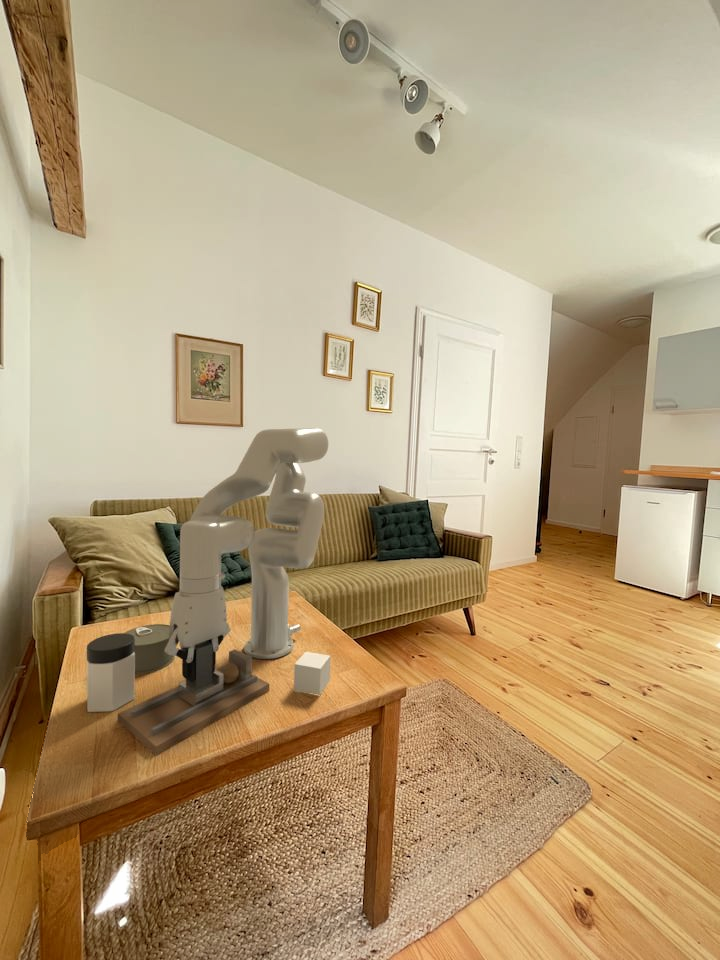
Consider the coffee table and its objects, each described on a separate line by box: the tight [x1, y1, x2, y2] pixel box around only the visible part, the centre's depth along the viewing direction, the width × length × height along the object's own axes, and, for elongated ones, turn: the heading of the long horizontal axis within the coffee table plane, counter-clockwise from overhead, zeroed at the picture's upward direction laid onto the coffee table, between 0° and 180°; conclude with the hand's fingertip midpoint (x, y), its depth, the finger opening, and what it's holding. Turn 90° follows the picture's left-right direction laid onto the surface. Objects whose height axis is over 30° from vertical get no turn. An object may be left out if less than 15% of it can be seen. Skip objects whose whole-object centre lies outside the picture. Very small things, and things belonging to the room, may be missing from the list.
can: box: [124, 623, 175, 676], centre depth 94 cm, size 12×12×7 cm
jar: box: [86, 632, 136, 713], centre depth 79 cm, size 9×8×12 cm
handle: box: [178, 641, 224, 706], centre depth 78 cm, size 6×6×10 cm
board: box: [117, 649, 270, 756], centre depth 78 cm, size 24×14×6 cm, turn 144°
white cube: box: [293, 651, 332, 695], centre depth 86 cm, size 6×6×6 cm
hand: (199, 673), depth 78 cm, fingers closed on handle, 3 cm apart
